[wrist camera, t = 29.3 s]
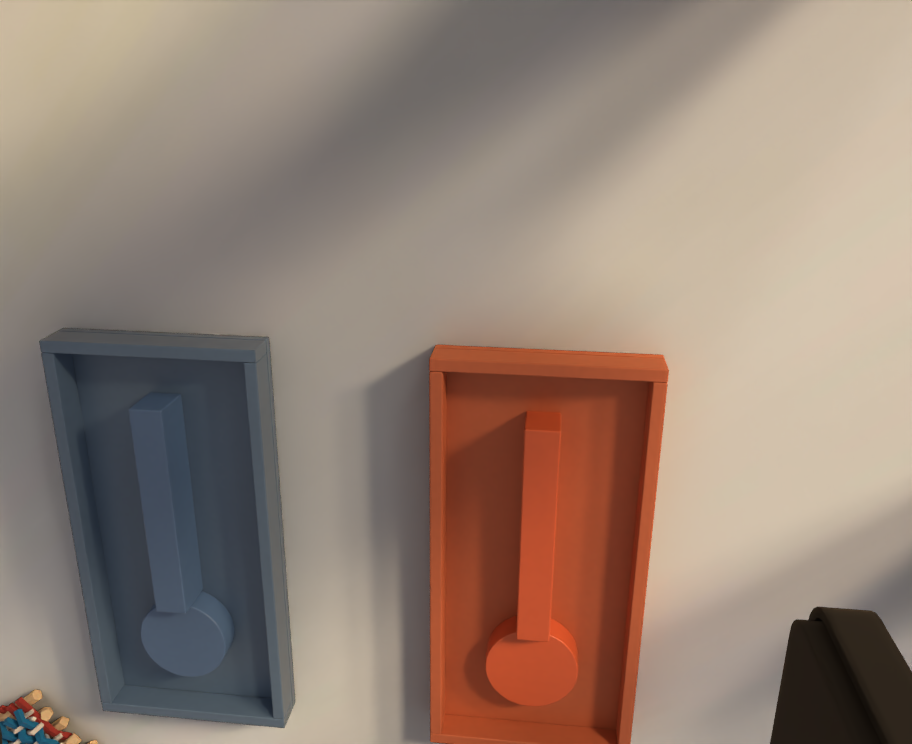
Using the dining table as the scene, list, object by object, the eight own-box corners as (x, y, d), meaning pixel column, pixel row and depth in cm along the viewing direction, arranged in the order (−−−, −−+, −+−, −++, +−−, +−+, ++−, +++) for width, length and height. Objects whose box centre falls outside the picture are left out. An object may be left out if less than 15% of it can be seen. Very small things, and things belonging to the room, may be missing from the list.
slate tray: (62, 327, 40) (38, 340, 38) (269, 336, 39) (254, 350, 37) (120, 685, 47) (102, 711, 45) (295, 701, 46) (284, 728, 44)
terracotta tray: (435, 344, 38) (429, 358, 36) (663, 354, 37) (669, 369, 35) (435, 714, 45) (429, 742, 43) (625, 732, 44) (628, 761, 42)
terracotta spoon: (493, 408, 38) (489, 427, 36) (594, 413, 38) (596, 433, 36) (486, 683, 43) (482, 714, 41) (575, 691, 43) (575, 722, 41)
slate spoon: (120, 390, 40) (96, 407, 38) (211, 394, 40) (192, 412, 37) (157, 656, 45) (138, 684, 43) (238, 663, 45) (223, 691, 43)
